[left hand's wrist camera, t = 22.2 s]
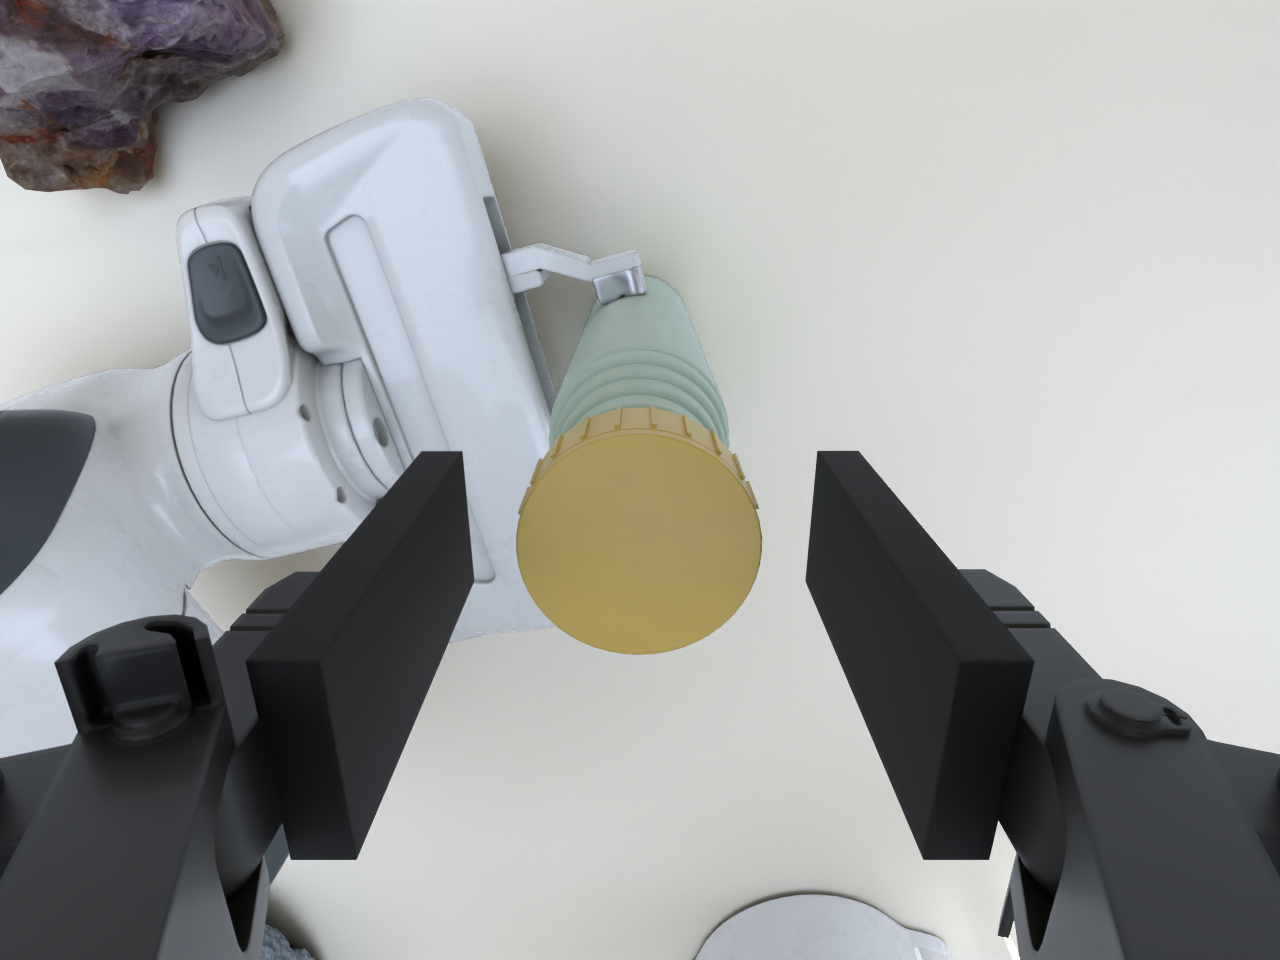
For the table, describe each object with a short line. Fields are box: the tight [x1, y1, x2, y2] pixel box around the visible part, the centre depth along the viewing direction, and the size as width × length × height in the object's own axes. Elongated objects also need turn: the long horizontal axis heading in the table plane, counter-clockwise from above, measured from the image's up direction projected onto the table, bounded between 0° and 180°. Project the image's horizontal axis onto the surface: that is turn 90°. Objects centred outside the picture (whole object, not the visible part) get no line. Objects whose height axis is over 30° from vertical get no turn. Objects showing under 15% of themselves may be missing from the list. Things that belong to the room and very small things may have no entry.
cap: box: [516, 406, 762, 655], centre depth 14 cm, size 4×4×2 cm
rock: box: [0, 0, 284, 194], centre depth 26 cm, size 12×9×10 cm
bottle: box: [549, 275, 729, 449], centre depth 24 cm, size 5×5×22 cm
